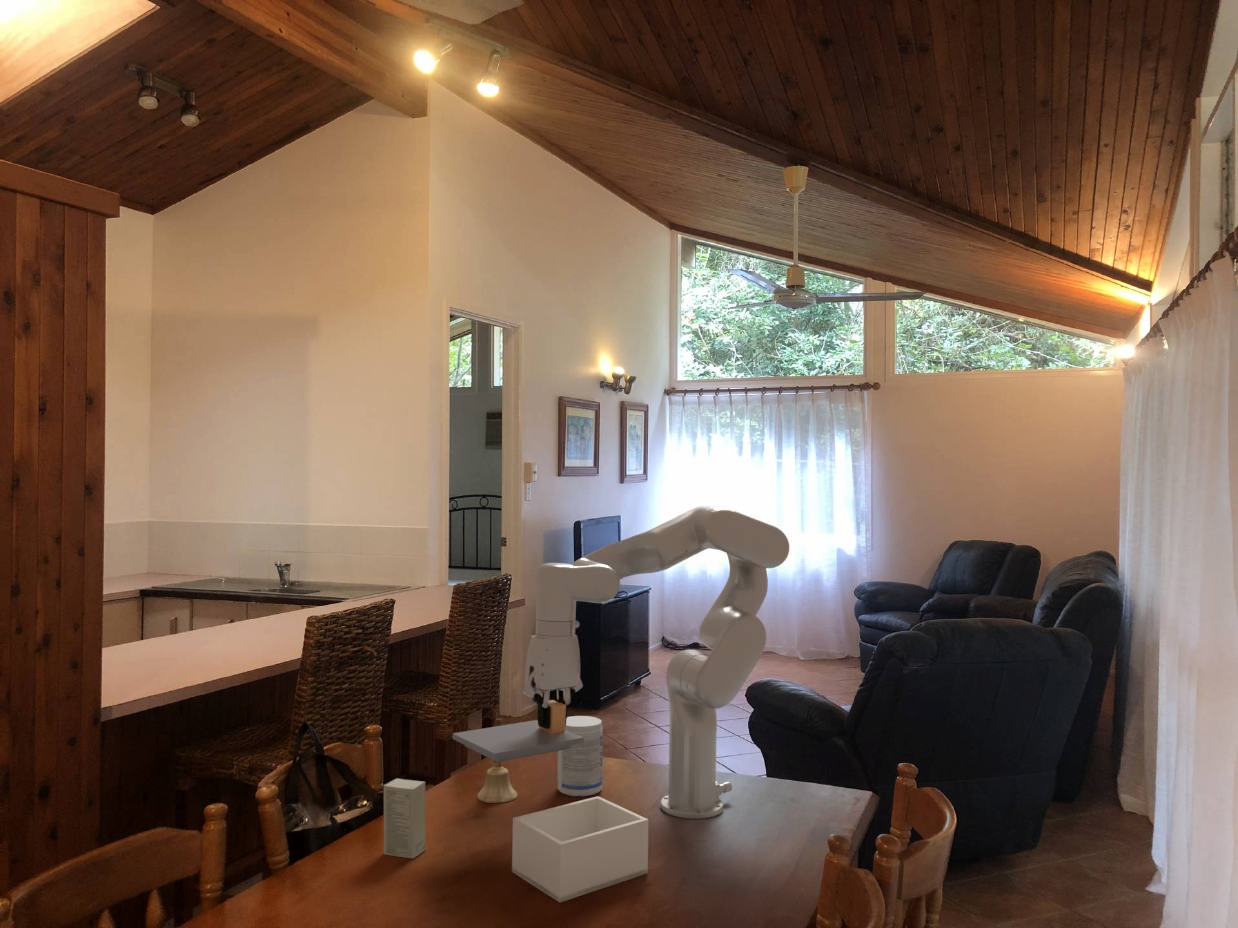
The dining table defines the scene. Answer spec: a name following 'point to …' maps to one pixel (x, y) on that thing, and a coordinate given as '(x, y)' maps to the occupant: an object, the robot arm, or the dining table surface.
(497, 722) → the hand bell
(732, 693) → the robot arm
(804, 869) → the dining table surface
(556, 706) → the grey board with block
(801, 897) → the dining table surface
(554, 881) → the parts tub
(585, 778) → the supplement tub
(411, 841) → the skincare box
